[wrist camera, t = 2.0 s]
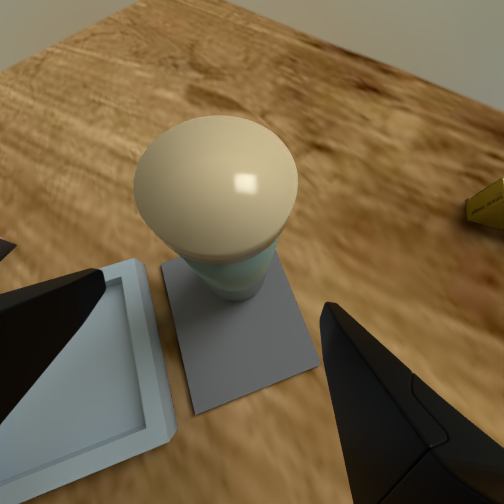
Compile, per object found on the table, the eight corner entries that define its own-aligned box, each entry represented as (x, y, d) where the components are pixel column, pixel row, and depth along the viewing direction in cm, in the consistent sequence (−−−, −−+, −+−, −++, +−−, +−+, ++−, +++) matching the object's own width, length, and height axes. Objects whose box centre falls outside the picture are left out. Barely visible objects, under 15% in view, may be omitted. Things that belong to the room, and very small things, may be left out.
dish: (177, 429, 16) (168, 442, 14) (-19, 508, 15) (-58, 535, 13) (144, 264, 20) (134, 257, 18) (-14, 313, 19) (-43, 311, 17)
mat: (319, 363, 18) (321, 364, 18) (196, 413, 17) (195, 415, 16) (267, 231, 21) (267, 229, 21) (162, 264, 20) (160, 263, 20)
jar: (275, 291, 19) (325, 222, 7) (216, 312, 19) (150, 278, 6) (254, 238, 21) (265, 101, 8) (199, 255, 20) (121, 135, 8)
